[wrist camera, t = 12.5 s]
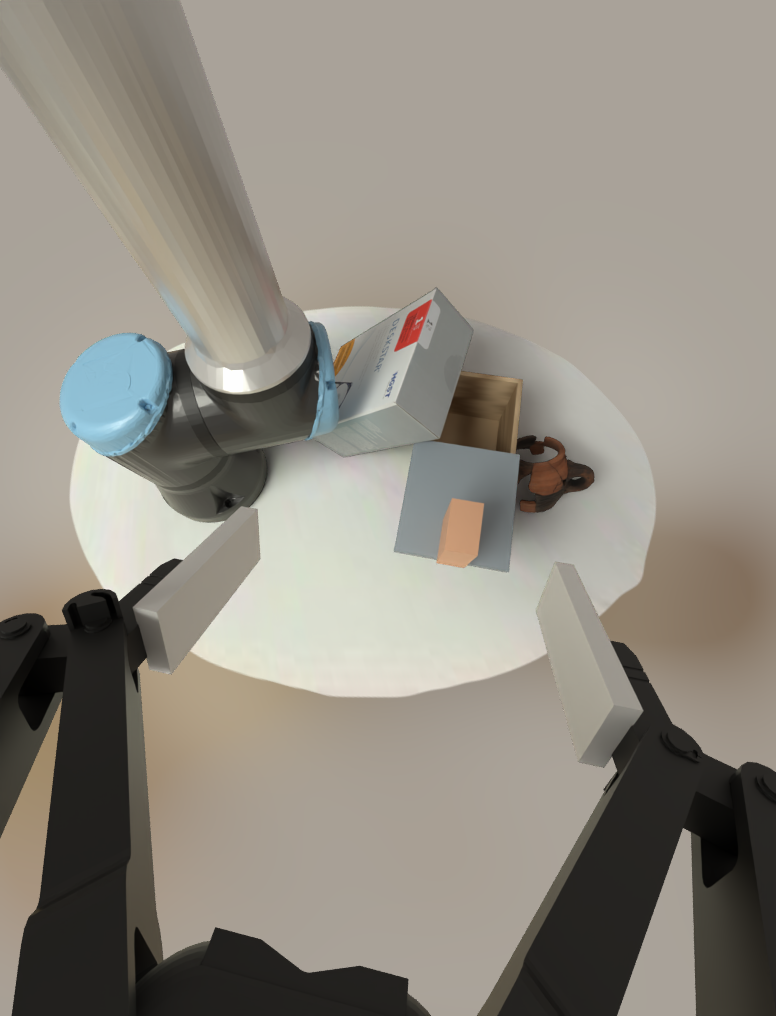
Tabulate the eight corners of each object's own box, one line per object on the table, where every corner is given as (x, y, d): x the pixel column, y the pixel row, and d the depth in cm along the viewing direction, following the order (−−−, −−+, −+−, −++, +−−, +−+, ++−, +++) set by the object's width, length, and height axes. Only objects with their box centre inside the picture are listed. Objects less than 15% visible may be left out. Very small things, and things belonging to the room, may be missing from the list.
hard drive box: (339, 344, 57) (437, 283, 42) (375, 375, 62) (477, 329, 46) (301, 434, 53) (396, 401, 38) (344, 460, 58) (444, 440, 42)
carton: (410, 491, 56) (413, 462, 46) (425, 408, 60) (430, 366, 50) (493, 504, 55) (513, 479, 45) (502, 419, 59) (522, 379, 49)
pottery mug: (498, 515, 55) (499, 470, 49) (502, 473, 61) (503, 429, 56) (591, 520, 51) (603, 472, 46) (585, 475, 57) (595, 428, 52)
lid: (393, 556, 43) (392, 540, 35) (414, 441, 47) (418, 403, 39) (506, 577, 42) (531, 565, 34) (518, 457, 46) (543, 422, 38)
